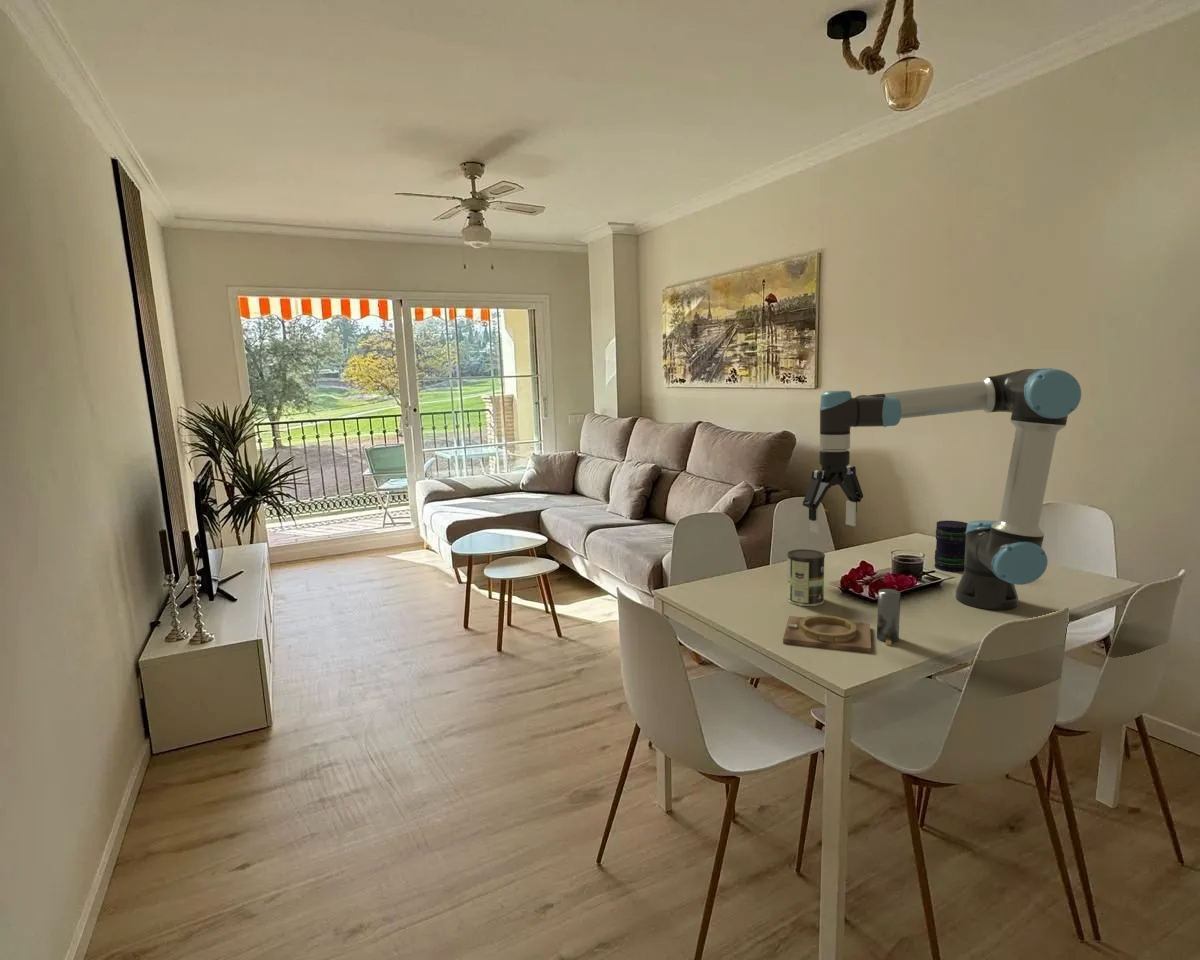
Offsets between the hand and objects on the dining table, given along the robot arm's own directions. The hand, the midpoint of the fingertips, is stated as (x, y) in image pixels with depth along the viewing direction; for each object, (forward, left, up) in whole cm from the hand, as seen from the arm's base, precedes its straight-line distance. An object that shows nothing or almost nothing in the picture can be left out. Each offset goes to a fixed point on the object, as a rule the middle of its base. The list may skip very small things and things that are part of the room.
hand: (832, 528), depth 175 cm
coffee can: (+7, -9, -24) cm, 27 cm away
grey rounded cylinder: (-14, +14, -24) cm, 31 cm away
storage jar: (-36, -54, -24) cm, 69 cm away
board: (0, +16, -24) cm, 29 cm away
